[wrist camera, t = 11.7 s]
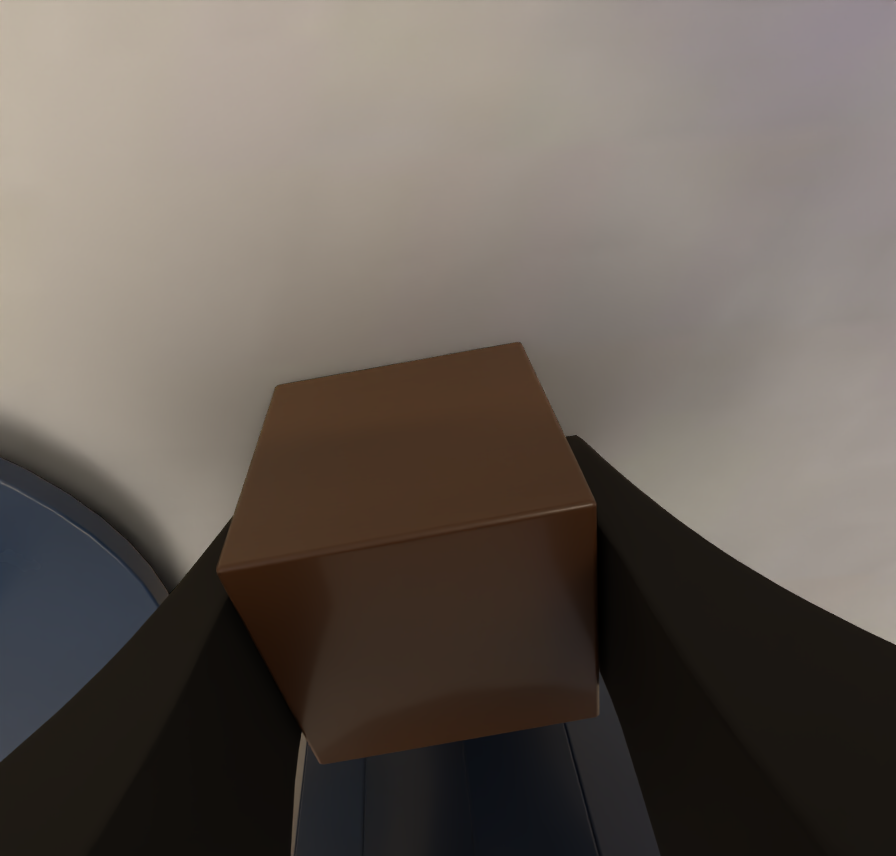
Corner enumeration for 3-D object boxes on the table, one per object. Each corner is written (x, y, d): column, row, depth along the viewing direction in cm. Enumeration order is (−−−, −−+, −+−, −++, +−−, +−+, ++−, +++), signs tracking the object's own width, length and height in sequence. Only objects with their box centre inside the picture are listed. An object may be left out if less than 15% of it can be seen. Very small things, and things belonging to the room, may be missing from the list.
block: (537, 523, 13) (601, 718, 9) (337, 558, 13) (319, 768, 9) (521, 339, 10) (599, 503, 6) (274, 384, 10) (211, 571, 6)
